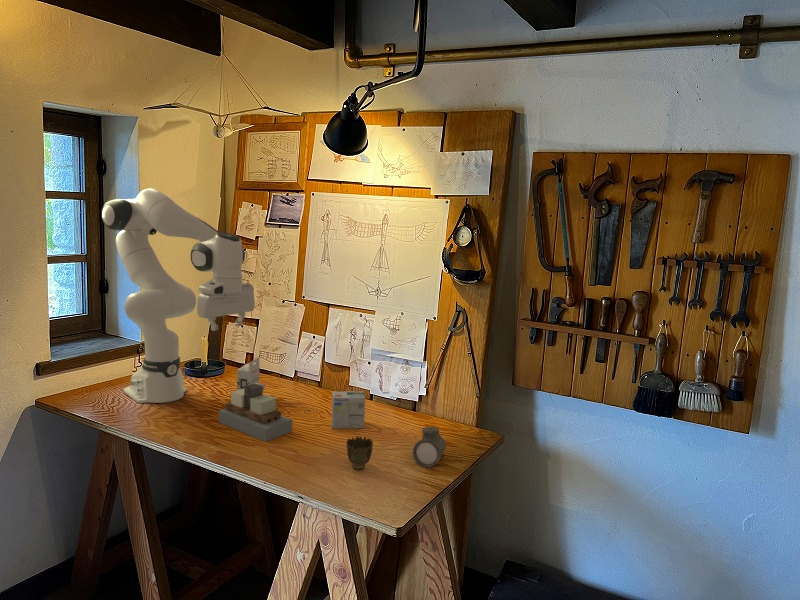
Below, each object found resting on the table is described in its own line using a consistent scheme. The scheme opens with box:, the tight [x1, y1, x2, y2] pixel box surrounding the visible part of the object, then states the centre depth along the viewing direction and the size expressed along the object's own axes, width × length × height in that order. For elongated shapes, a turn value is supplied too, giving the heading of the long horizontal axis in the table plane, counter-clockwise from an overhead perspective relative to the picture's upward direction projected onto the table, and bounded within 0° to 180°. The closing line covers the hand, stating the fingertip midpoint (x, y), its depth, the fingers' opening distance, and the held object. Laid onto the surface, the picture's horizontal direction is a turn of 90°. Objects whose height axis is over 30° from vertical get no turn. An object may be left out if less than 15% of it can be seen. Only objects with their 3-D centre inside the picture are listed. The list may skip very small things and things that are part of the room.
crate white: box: [230, 388, 244, 408], centre depth 201 cm, size 5×6×4 cm
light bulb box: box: [331, 390, 366, 430], centre depth 205 cm, size 11×7×11 cm, turn 100°
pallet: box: [225, 383, 282, 424], centre depth 198 cm, size 18×7×9 cm, turn 55°
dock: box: [218, 408, 293, 442], centre depth 199 cm, size 22×11×4 cm, turn 55°
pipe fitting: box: [412, 426, 447, 469], centre depth 183 cm, size 12×8×10 cm
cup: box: [346, 436, 374, 471], centre depth 174 cm, size 8×7×8 cm
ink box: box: [236, 356, 260, 390], centre depth 223 cm, size 9×5×15 cm, turn 168°
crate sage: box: [250, 393, 277, 415], centre depth 196 cm, size 5×6×4 cm
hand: (226, 328), depth 199 cm, fingers open, 8 cm apart
